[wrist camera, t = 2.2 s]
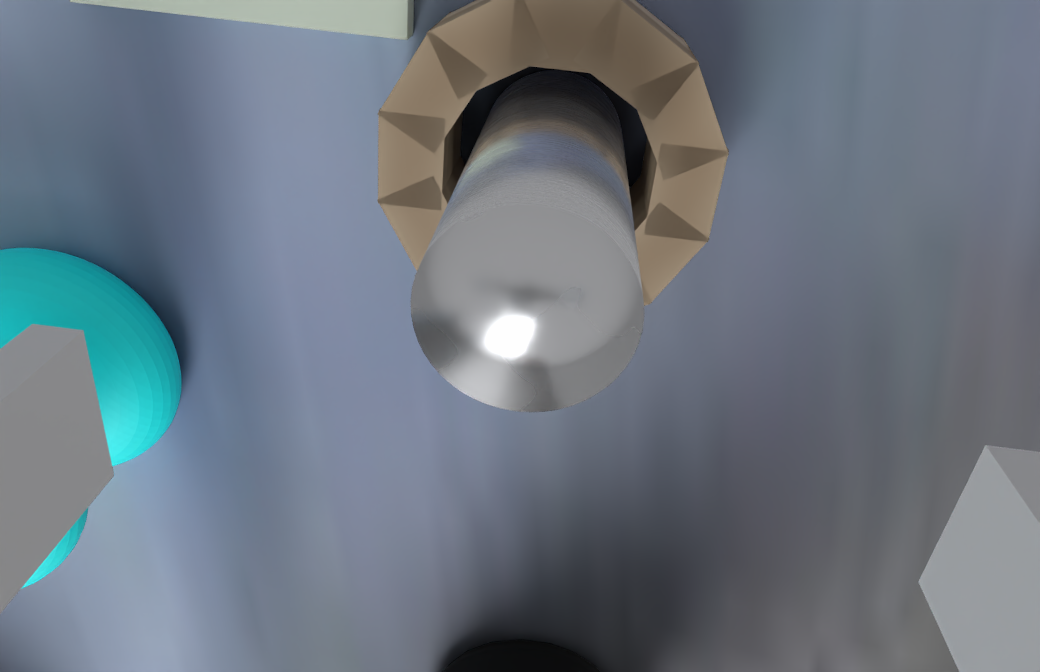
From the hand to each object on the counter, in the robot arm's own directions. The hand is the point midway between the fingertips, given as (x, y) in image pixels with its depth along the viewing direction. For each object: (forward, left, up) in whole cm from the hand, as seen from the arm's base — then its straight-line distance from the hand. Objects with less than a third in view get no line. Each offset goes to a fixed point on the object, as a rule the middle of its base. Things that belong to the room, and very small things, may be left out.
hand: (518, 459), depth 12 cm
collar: (0, 0, -18) cm, 18 cm away
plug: (0, 0, -18) cm, 18 cm away
